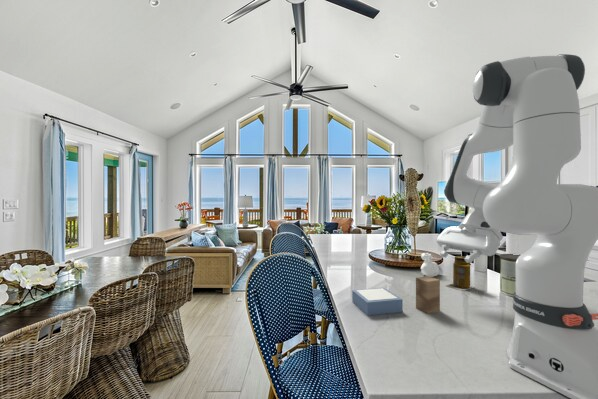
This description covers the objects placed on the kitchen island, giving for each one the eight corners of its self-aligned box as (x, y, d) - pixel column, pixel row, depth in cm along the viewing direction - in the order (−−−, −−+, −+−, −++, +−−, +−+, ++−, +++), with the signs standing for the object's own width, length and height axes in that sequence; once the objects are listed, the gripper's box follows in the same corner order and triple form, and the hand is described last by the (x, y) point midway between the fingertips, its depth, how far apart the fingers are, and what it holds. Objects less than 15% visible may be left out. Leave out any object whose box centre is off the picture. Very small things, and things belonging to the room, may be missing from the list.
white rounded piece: (435, 277, 136) (421, 256, 142) (448, 270, 131) (433, 249, 137) (421, 282, 129) (408, 260, 135) (434, 274, 124) (419, 252, 130)
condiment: (474, 287, 114) (474, 257, 114) (464, 291, 110) (463, 260, 110) (456, 282, 121) (456, 254, 121) (445, 286, 116) (445, 257, 116)
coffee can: (495, 288, 113) (495, 253, 113) (526, 290, 110) (525, 254, 110) (506, 297, 103) (506, 258, 103) (540, 299, 100) (540, 259, 100)
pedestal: (402, 311, 90) (402, 298, 90) (367, 315, 88) (367, 301, 88) (383, 298, 102) (383, 287, 102) (352, 301, 99) (352, 289, 99)
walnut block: (439, 311, 91) (439, 279, 90) (428, 313, 89) (428, 281, 89) (427, 305, 95) (427, 276, 95) (415, 308, 93) (415, 277, 93)
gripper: (444, 220, 109) (425, 247, 105) (499, 225, 90) (478, 258, 86) (452, 231, 111) (434, 258, 107) (508, 238, 92) (488, 271, 88)
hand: (454, 258), depth 97 cm, fingers open, 8 cm apart
